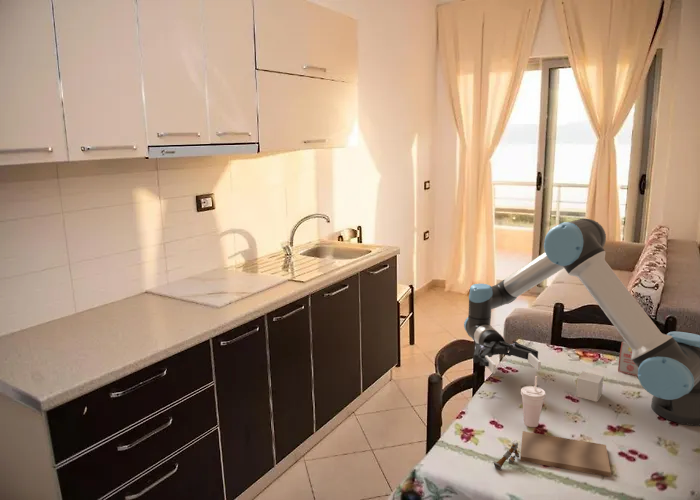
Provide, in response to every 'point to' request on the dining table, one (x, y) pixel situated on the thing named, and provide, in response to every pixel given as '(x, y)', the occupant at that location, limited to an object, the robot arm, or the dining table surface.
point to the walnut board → (565, 453)
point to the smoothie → (532, 404)
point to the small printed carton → (626, 360)
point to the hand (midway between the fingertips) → (517, 367)
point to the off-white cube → (589, 386)
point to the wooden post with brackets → (507, 455)
